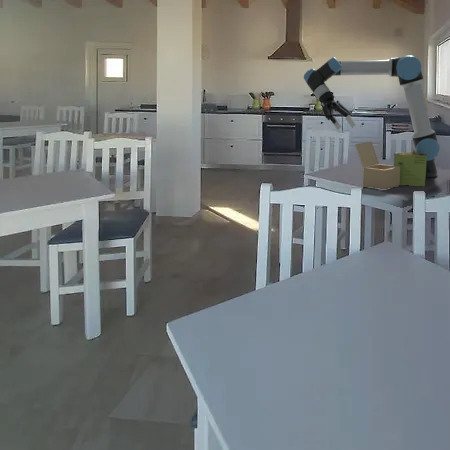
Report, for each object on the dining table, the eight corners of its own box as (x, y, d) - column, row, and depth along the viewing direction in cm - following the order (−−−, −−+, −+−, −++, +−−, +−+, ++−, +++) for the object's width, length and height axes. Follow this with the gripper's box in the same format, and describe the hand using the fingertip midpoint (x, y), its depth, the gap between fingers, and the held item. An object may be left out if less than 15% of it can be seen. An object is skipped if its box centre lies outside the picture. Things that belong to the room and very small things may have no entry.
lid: (379, 163, 327) (378, 164, 328) (371, 141, 328) (370, 141, 328) (363, 167, 318) (362, 167, 318) (355, 144, 318) (354, 144, 319)
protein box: (425, 186, 321) (427, 155, 317) (393, 185, 324) (395, 154, 320) (423, 182, 331) (425, 152, 327) (392, 181, 334) (393, 151, 330)
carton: (378, 183, 330) (379, 164, 327) (399, 186, 321) (400, 166, 319) (362, 187, 320) (363, 167, 318) (384, 190, 312) (385, 170, 309)
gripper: (333, 99, 346) (355, 130, 340) (305, 101, 328) (328, 133, 322) (342, 89, 341) (364, 120, 335) (314, 90, 323) (338, 123, 317)
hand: (347, 127), depth 328 cm, fingers open, 13 cm apart
